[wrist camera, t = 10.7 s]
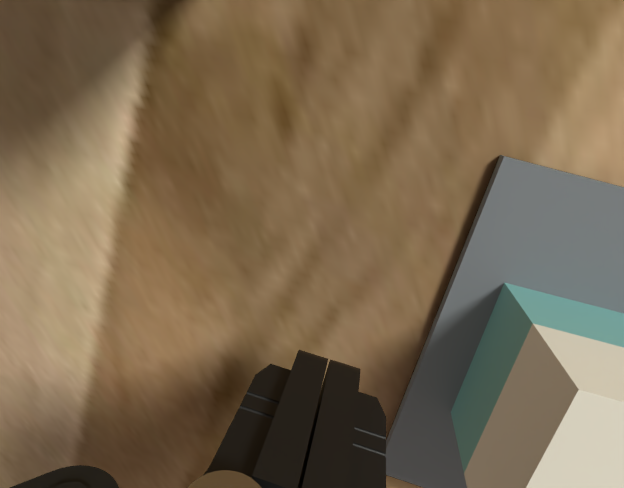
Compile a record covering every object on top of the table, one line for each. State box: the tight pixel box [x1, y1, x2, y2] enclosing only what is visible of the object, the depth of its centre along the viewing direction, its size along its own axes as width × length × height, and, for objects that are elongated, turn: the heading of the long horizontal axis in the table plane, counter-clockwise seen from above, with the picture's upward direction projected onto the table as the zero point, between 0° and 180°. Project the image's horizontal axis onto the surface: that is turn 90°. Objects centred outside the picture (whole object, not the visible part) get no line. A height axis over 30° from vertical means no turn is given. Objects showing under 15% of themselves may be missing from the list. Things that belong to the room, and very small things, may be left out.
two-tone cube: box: [451, 283, 624, 488], centre depth 10 cm, size 5×5×5 cm
